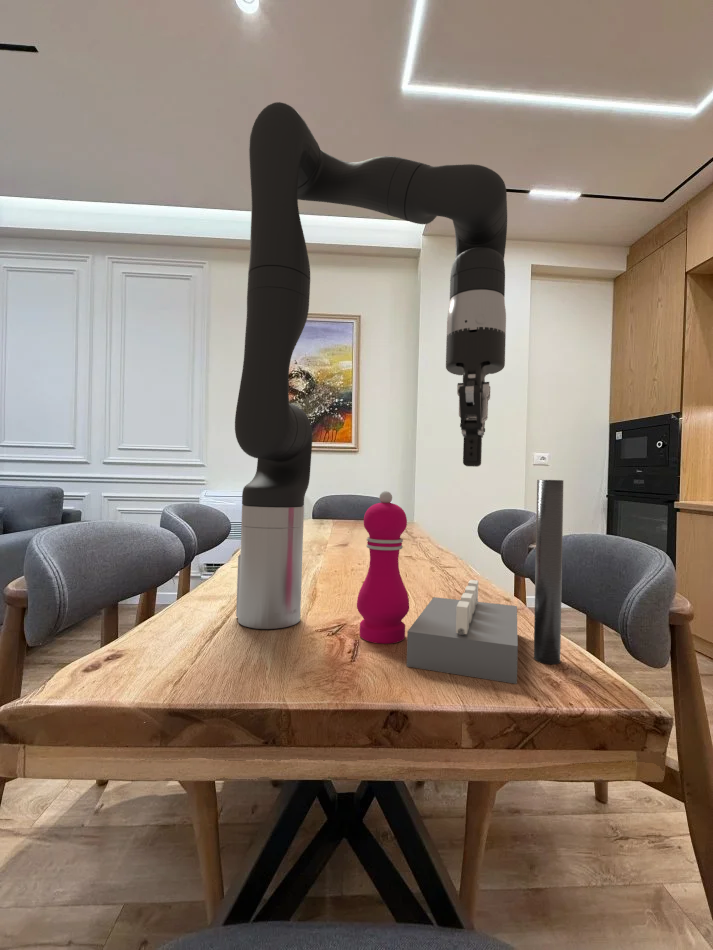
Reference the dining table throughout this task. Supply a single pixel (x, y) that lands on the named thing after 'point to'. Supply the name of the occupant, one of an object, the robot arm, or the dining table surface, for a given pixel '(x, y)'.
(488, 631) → the breaker panel
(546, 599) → the black cord post
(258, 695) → the dining table surface
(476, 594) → the breaker paddles
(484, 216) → the robot arm
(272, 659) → the dining table surface
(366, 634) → the pepper mill
